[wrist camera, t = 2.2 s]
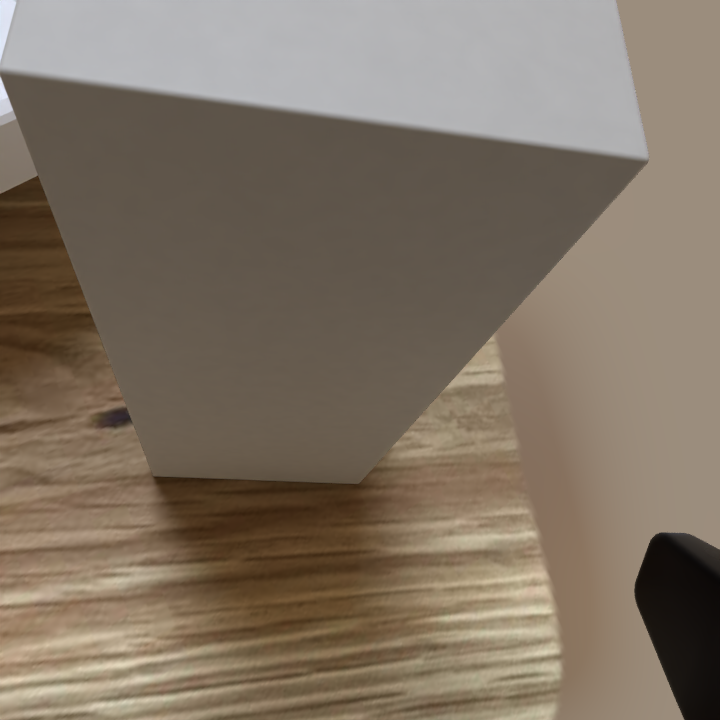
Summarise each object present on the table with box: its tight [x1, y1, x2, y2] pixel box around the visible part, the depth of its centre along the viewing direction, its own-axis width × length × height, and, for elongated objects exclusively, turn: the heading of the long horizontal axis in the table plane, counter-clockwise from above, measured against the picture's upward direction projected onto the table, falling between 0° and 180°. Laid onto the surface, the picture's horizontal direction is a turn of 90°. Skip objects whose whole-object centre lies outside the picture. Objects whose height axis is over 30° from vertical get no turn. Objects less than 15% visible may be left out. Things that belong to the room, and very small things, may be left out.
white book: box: [0, 0, 649, 484], centre depth 13 cm, size 2×6×15 cm, turn 90°
